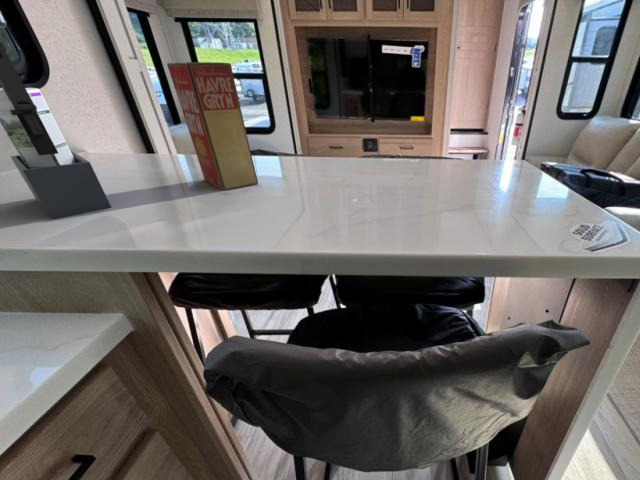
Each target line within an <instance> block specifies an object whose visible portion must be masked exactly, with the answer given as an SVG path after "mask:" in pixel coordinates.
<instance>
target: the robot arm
mask: <svg viewBox="0 0 640 480" xmlns="http://www.w3.org/2000/svg"><path fill="white" fill-rule="evenodd" d="M7 26H8V23H7V21H6V20H5V17H4V15H3V14H2V11H1V10H0V29H5V28H6V27H7ZM0 88H3V90H4V91H5V93H6V95H7V97H8V98H9V100H10V102H11V103H12V105H13V107H14V108H15V109H14V110H10V112H11V114H12V115H17V117H18V118H19V120H20V122H21V124H22V126H23V127H24V129H25V131H26V133H27V135H28V136H29V138H30V140H31V142H32V144H33V145H34V147H35V149H36V151H37V152H38V154H39V155H48V154H58V151H57V149H56V148H55V146H54V144H53V142H52V140H51V138H50V136H49V134H48V132H47V130H46V128H45V127H44V125H43V123H42V121H41V119H40V117H39V115H38V114H37V107H36V105H34V103H33V102H32V100H31V98H30V96H29V94H28V92H27V90H26V89H25V88H26V86H25V85H24V83H23V81H22V80H21V77H20V76H19V73H18V72H17V71H16V67H15V65H14V62H13V61H12V59H11V57H10V55H9V52H8V48H7V47H6V45H5V43H4V42H3V40H0Z"/></svg>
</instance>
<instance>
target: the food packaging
mask: <svg viewBox="0 0 640 480" xmlns="http://www.w3.org/2000/svg"><path fill="white" fill-rule="evenodd" d="M166 66H167V68H168V71H169V74H170V77H171V81H172V84H173V88H174V89H175V93H176V96H177V99H178V101H179V102H178V103H179V105H180V108H181V111H182V114H183V118H184V120H185V123H186V126H187V129H188V133H189V135H190V138H191V142H192V145H193V148H194V150H195V153H196V157H197V160H198V163H199V167H200V170H201V174H202V176H203V181H205V182H207V183H209V184H210V185H212V186H214V187H217V188H218V189H219V190H222V191H225V192H226V191H229V190H235V189H239V188H240V189H241V188H246V187H250V186H254V185H259V180H258V176H257V172H256V168H255V164H254V160H253V156H252V152H251V151H252V150H251V147H250V143H249V139H248V138H249V137H248V134H247V129H246V126H245V122H244V121H245V120H244V118H243V117H244V116H243V114H242V108H241V104H240V100H239V94H238V90H237V86H236V82H235V77H234V73H233V69H232V68H233V67H232V64H231V63H230V62H220V61H219V62H218V61H215V62H212V61H211V62H210V61H206V62H205V61H203V62H202V61H193V62H192V61H187V62H182V61H181V62H167V63H166Z"/></svg>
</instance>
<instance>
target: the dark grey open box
mask: <svg viewBox="0 0 640 480" xmlns="http://www.w3.org/2000/svg"><path fill="white" fill-rule="evenodd" d="M70 151H71V153H72V155H73V157H74V159H75V160H76V162H77V163H74V164H66V165H58V166H50V167H42V168H34V169H27V167H26V165H25V163H24V162H23V160H22V158H21V157H20V155H19V154H17V155H10V158H11V161H12V162H13V164H14V165H15V167H16V169H17V170H18V171H19V173H20V175H21V177H22V179H23V180H24V181H25V184H26V185H27V187H28V188H29V190H30V192H31V193H32V195H33V197H34V198H35V200H36V201H37V202H38V204H39V205H40V207H41V208H42V209H43V210H44V212H45V213H47V215H48V217H49V218H50V219H51V220H56V219H60V218H65V217H69V216H75V215H80V214H84V213H89V212H94V211H100V210H104V209H110V208H112V205H111V203H110V201H109V199H108V198H107V195H106V192H105V190H104V189H103V187H102V184H101V183H100V181H99V179H98V177H97V174H96V172H95V170H94V168H93V166H92V164H91V162H90V161H88V160H87V159H85V158H84V157H82V156H80V155H79V154H77V153H75V152H74V151H72V150H70Z"/></svg>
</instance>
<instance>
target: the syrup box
mask: <svg viewBox="0 0 640 480" xmlns="http://www.w3.org/2000/svg"><path fill="white" fill-rule="evenodd" d="M25 89H26V90H27V92H28V94H29V96H30V98H31V100H32V102H33V103H34V105H36V107H37V114H38V115H39V117H40V119H41V121H42V123H43V125H44V127H45V128H46V130H47V132H48V134H49V136H50V138H51V140H52V142H53V144H54V146H55V148H56V149H57V151H58V154H48V155H39V154H38V152H37V151H36V149H35V147H34V145H33V144H32V142H31V140H30V138H29V136H28V135H27V133H26V131H25V129H24V127H23V126H22V124H21V122H20V120H19V118H18V117H17V115H12V114H11V112H10V110H14V109H15V108H14V107H13V105H12V103H11V102H10V100H9V98H8V97H7V95H6V93H5V91H4V90H3V88H0V125H1V126H2V129H3V130H4V131H5V133H6V135H7V137H8V138H9V140H10V142H11V144H12V145H13V147H14V148H15V150H16V151H17V152H16V153H18V155H20V157H21V158H22V160H23V162H24V163H25V165H26V167H27V169H34V168H42V167H50V166H58V165H66V164H74V163H77V162H76V160H75V159H74V157H73V155H72V153H71V151H72V150H71V148H70V147H69V145H68V143H67V141H66V139H65V138H64V135H63V133H62V132H61V129H60V127H59V126H58V123H57V121H56V119H55V117H54V115H53V113H52V111H51V109H50V107H49V105H48V103H47V101H46V99H45V97H44V95H43V94H42V91H41V90H40V89H39V88H37V87H25Z"/></svg>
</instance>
